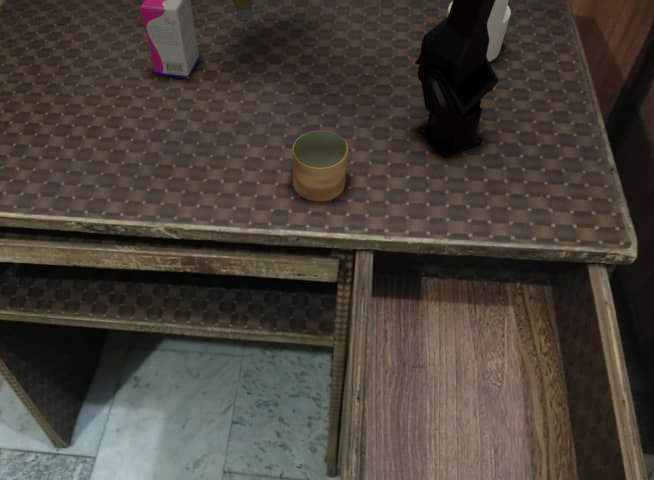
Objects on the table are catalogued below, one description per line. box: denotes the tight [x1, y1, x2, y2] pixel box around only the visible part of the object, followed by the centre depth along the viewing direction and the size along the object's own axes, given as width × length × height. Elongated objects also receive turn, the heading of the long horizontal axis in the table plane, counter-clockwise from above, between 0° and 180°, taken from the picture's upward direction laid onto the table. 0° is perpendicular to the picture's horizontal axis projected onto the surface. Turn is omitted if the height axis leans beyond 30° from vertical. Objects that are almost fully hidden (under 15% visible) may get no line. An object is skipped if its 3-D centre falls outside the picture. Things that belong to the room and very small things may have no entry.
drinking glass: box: [445, 0, 512, 62], centre depth 94 cm, size 9×9×12 cm
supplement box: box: [140, 0, 200, 80], centre depth 96 cm, size 6×6×12 cm
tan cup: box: [291, 129, 349, 202], centre depth 82 cm, size 7×7×6 cm
